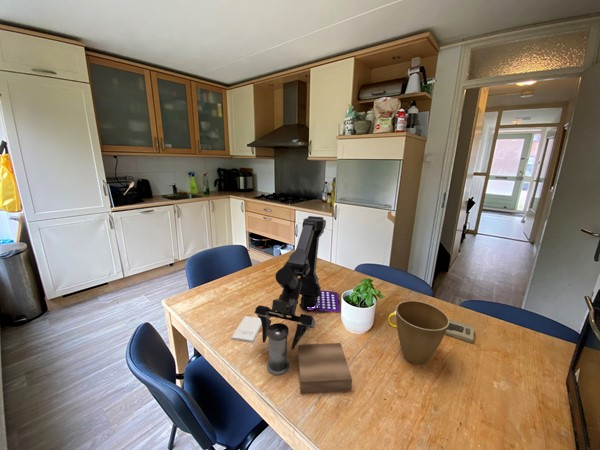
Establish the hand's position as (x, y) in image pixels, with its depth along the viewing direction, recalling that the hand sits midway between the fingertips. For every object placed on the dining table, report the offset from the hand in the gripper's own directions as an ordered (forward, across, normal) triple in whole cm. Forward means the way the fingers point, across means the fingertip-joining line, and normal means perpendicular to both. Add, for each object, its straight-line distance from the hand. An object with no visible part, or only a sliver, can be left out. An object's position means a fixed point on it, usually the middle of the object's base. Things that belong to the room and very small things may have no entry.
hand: (277, 346), depth 76 cm
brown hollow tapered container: (-7, +40, +18) cm, 45 cm away
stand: (+3, +13, +7) cm, 15 cm away
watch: (-18, +35, +28) cm, 49 cm away
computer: (-20, +54, +32) cm, 66 cm away
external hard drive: (-3, -17, +15) cm, 23 cm away
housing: (+5, 0, +6) cm, 8 cm away
